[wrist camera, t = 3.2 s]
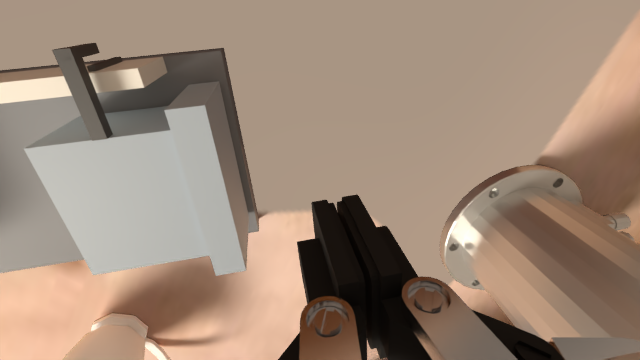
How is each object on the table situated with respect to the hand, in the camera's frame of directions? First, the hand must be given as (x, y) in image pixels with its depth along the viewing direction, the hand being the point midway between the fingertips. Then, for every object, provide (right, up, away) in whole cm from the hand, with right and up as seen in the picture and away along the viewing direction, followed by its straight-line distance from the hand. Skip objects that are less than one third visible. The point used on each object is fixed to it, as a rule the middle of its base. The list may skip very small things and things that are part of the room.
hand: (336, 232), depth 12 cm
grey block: (-10, +4, +7) cm, 13 cm away
